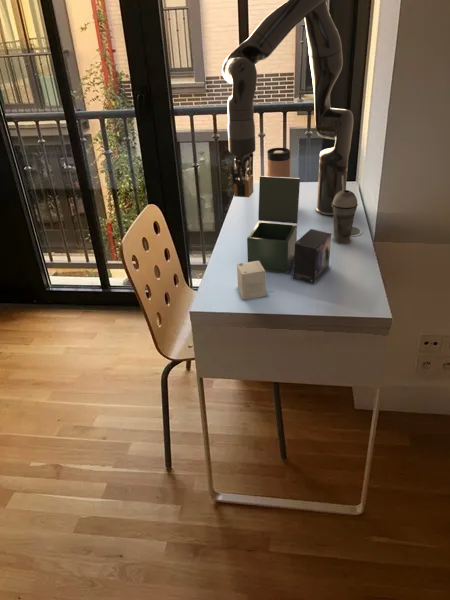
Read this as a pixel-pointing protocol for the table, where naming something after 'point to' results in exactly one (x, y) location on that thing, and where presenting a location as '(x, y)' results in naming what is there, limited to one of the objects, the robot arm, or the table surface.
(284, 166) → the travel mug
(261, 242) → the bin
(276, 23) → the robot arm
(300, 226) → the table surface
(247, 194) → the carton
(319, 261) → the small box
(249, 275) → the white cardboard box
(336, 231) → the beverage cup
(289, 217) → the bin lid
